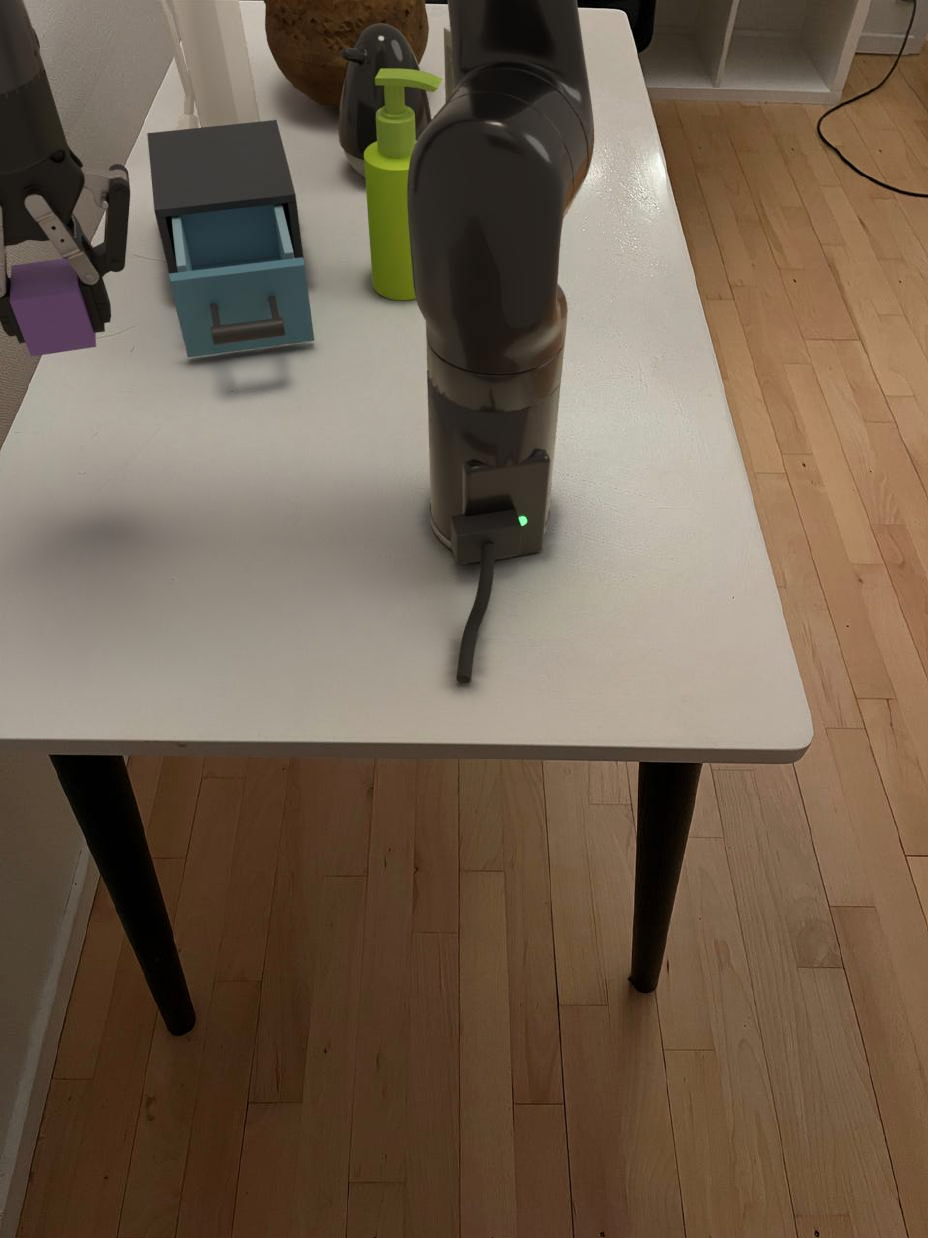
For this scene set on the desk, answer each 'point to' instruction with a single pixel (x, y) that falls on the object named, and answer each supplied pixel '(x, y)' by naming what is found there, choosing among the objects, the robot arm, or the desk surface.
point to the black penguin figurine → (374, 89)
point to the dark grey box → (220, 175)
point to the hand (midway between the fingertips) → (62, 329)
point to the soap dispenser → (392, 183)
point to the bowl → (333, 38)
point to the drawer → (238, 281)
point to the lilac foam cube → (50, 307)
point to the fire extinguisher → (211, 62)
